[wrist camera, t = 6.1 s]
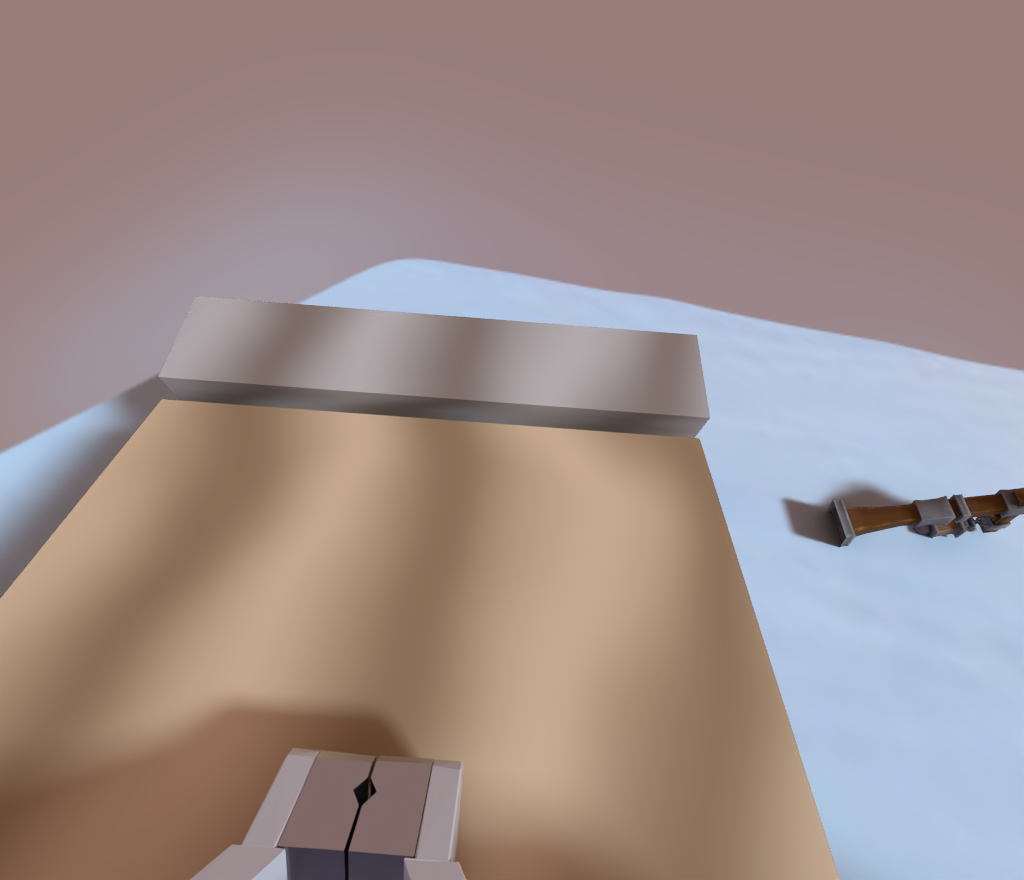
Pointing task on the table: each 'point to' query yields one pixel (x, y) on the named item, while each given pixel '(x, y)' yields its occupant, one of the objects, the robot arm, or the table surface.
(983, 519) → the wooden post with brackets
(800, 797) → the oak plank
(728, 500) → the table surface
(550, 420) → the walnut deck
